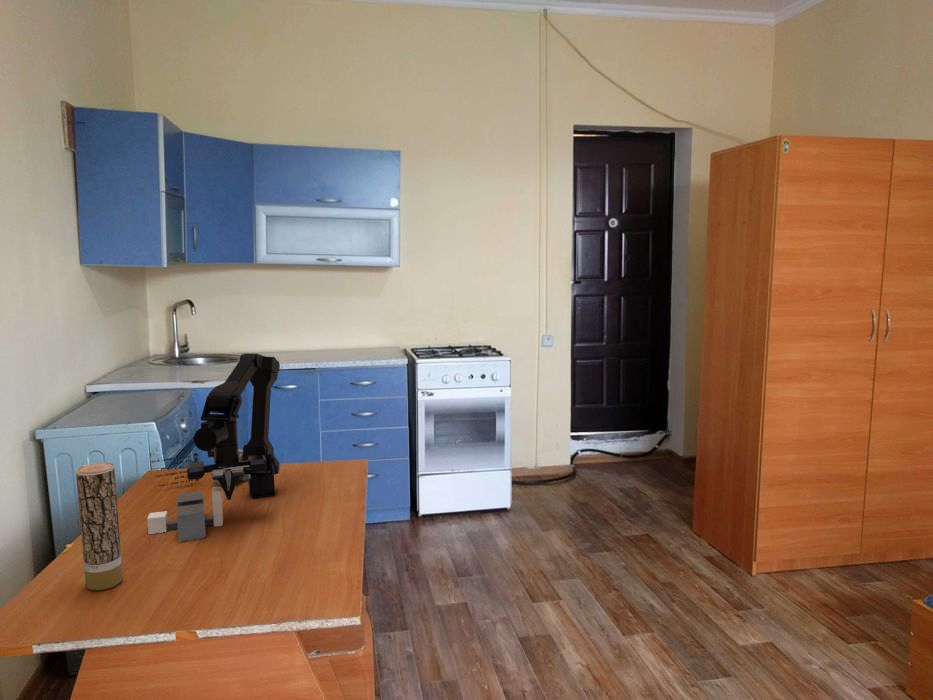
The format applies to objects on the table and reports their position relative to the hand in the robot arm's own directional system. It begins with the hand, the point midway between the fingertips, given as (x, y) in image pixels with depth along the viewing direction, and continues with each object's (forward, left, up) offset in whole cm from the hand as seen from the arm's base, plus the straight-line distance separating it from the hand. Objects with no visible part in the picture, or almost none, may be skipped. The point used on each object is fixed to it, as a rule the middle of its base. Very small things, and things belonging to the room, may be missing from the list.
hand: (229, 499), depth 169 cm
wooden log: (+26, +24, -6) cm, 36 cm away
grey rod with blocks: (+10, -1, -6) cm, 12 cm away
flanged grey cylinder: (+5, -32, -6) cm, 33 cm away
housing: (+9, 0, -6) cm, 11 cm away
